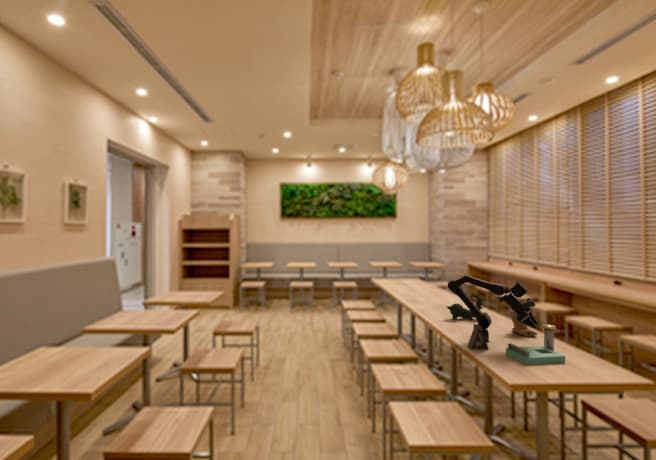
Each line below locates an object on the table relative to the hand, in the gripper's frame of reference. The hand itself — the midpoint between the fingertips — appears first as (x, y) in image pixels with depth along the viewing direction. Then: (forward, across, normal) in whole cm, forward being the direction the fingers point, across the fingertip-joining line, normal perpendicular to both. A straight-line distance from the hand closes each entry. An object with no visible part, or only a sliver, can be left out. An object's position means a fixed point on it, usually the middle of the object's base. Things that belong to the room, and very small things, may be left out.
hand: (536, 326), depth 203 cm
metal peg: (+12, 0, +4) cm, 13 cm away
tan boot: (+1, +29, +16) cm, 33 cm away
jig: (+8, -17, +8) cm, 20 cm away
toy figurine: (-26, +48, +43) cm, 70 cm away
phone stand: (-10, -15, +27) cm, 33 cm away
